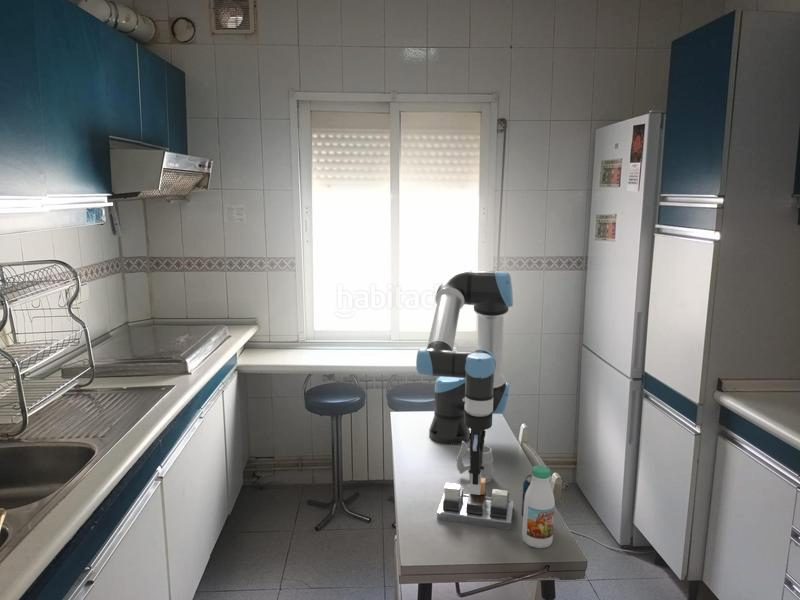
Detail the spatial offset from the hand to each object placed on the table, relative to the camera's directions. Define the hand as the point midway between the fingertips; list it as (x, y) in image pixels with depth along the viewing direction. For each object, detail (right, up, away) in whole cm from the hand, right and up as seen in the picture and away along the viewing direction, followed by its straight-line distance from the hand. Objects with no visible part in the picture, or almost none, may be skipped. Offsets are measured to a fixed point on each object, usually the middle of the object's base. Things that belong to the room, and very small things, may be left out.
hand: (475, 492), depth 159 cm
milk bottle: (+15, -10, -8) cm, 20 cm away
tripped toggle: (+1, -2, +6) cm, 6 cm away
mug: (+3, -4, +25) cm, 26 cm away
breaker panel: (+1, -7, +4) cm, 8 cm away
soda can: (+16, -8, +2) cm, 18 cm away
